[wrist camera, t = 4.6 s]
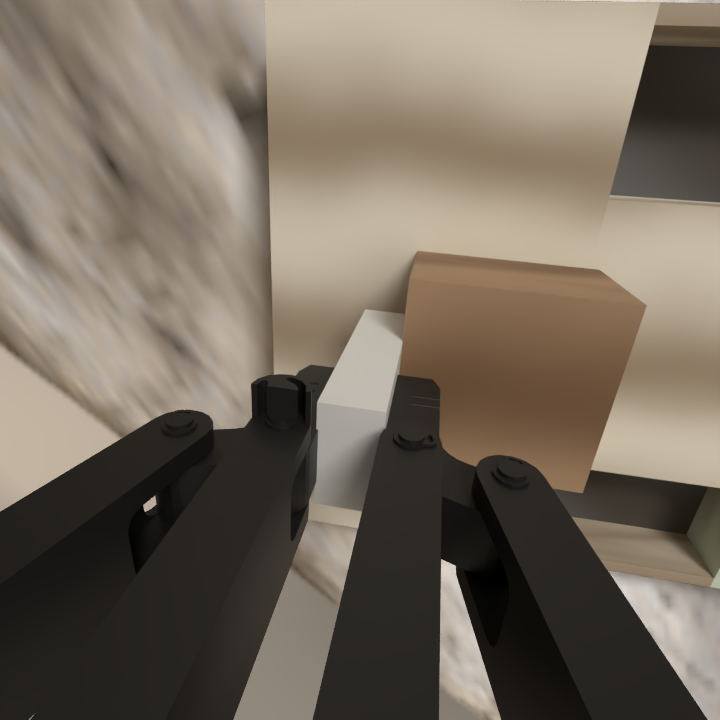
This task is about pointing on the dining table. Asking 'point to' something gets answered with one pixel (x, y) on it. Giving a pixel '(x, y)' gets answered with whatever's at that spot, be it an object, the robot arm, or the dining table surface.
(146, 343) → the dining table surface
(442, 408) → the walnut block
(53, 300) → the dining table surface
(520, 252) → the trap board
